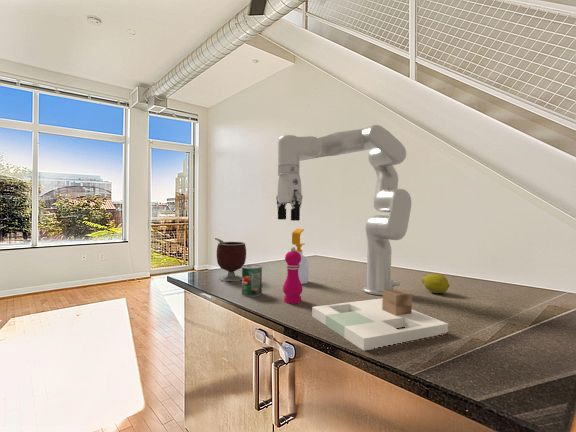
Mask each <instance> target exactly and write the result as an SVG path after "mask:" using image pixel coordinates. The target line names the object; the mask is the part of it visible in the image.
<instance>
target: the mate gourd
mask: <svg viewBox="0 0 576 432" xmlns="http://www.w3.org/2000/svg"><path fill="white" fill-rule="evenodd" d="M214 240H215V241H218V242H217V248H216V262H217V264H218V266H219V267H220V269H222V270H224V271H227V274H225V275H220V276H218V277H217V280H218V279H219V280H221V281H220V282H223V281H237V282H241V281H240V280H242V275H238V274H236V273H235V272H237V271H238V270H240V269H242V266H244V265H246V259H247V248H246V242H244V241H243V242H242V241H223V240H221V239H219V238H216V237H215V238H214ZM219 280H218V281H219Z"/></svg>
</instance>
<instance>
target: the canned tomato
mask: <svg viewBox="0 0 576 432" xmlns="http://www.w3.org/2000/svg"><path fill="white" fill-rule="evenodd" d="M241 276H242V281H241V295H242V296H243V297H249V296H250V297H259V296H261V295H263V292H262V290H263V285H262V283H263V282H262V281H263V279H262V278H263V277H262V276H263V266H262V265H259V264H244V265H243V266H242V268H241Z"/></svg>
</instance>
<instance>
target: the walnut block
mask: <svg viewBox="0 0 576 432" xmlns="http://www.w3.org/2000/svg"><path fill="white" fill-rule="evenodd" d="M412 297H413V294H412V292H408V291H405V290H402V289H400V288H393V290H384V291H383V295H382V298H383V300H382V310H384V311H386V312H388V313H391V314H393V315H395V316H398V315H404V314H411V312H412V310H413V308H412V302H413V298H412Z"/></svg>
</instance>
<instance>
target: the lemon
mask: <svg viewBox="0 0 576 432" xmlns="http://www.w3.org/2000/svg"><path fill="white" fill-rule="evenodd" d="M421 283H422V284H424V287H425V288H426V289H427V291H429V292H431V293H434V294H437V293H438V295H439V293H440V294H444V293H446V292H447V291H448V289H449V288H450V286H451V285H450V282H449V280H448V279H447V277H446V276H444V275H443V274H440V273H430V274H427V275H425V276H423V277H422V278H421Z"/></svg>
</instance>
